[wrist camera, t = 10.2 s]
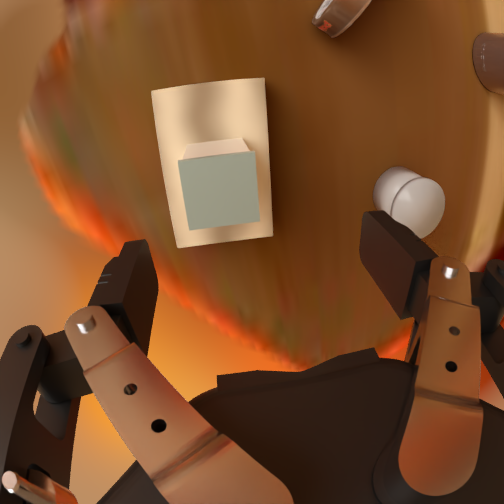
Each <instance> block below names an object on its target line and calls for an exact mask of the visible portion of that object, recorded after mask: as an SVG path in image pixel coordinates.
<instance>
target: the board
mask: <svg viewBox="0 0 504 504" xmlns="http://www.w3.org/2000/svg"><path fill="white" fill-rule="evenodd" d="M151 94H152V102H153V110H154V117H155V124H156V131H157V138H158V145H159V151H160V157H161V164H162V170H163V175H164V181H165V187H166V192H167V198H168V203H169V209H170V214H171V219H172V224H173V229H174V234H175V239H176V243H177V248H182V247H190V246H198V245H205V244H213V243H221V242H229V241H237V240H245V239H253V238H261V237H269V236H273V223H272V201H271V181H270V161H269V143H268V126H267V110H266V94H265V79H264V78H252V79H238V80H227V81H217V82H208V83H200V84H192V85H185V86H178V87H172V88H166V89H160V90H155V91H151ZM235 138H242V139H243V140H244V142H245V144H246V145H247V147H248V149H249V150H250V151H255V158H256V172H257V186H258V200H259V214H260V221H259V222H251V223H243V224H235V225H228V226H220V227H212V228H205V229H198V230H190V231H189V226H188V221H187V215H186V210H185V204H184V198H183V192H182V186H181V180H180V174H179V168H178V160H182V159H183V156H184V153H185V150H186V146H187V145H188V144H195V143H202V142H210V141H218V140H226V139H235Z"/></svg>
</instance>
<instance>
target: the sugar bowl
mask: <svg viewBox="0 0 504 504" xmlns="http://www.w3.org/2000/svg"><path fill="white" fill-rule="evenodd" d="M373 202H374V205H375V207H376V209H377V211H379V210H384V211H385V212H387V213H388V214H389V215H390V216H391V217H392V218H393V219H394V220H395V221H397V222H399V223H401V224H403V225H405V226H407V227H408V228H410V229H411V230H412V231H413V232H414V233H415V235H417V236H418V237H419V238H420V239H421V238H423V237H425V236H427V235H428V234H430V233H431V232H432V231H433V230H434V229H435V228H436V227H437V225H438V224H439V222H440V220H441V218H442V216H443V213H444V209H445V196H444V193H443V190H442V188H441V187H440V185H439V184H438V183H436V182H435V181H433V180H431V179H429V178H426V177H421V176H420V175H418V174H416V173H415V172H413V171H411V170H409V169H408V168H405V167H402V166H397V167H392V168H390V169H388V170H387V171H385V172H384V173H383V174H382V175H381V176H380V177H379V179H378V180H377V182H376V184H375V187H374V191H373Z"/></svg>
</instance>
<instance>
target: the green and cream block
mask: <svg viewBox="0 0 504 504" xmlns="http://www.w3.org/2000/svg"><path fill="white" fill-rule="evenodd" d="M178 168H179V174H180V180H181V186H182V192H183V198H184V204H185V210H186V215H187V221H188V226H189V231H190V230H198V229H205V228H212V227H220V226H228V225H235V224H243V223H251V222H259V221H260V214H259V200H258V186H257V172H256V158H255V151H250V150H249V149H248V147H247V145H246V144H245V142H244V140H243V139H242V138H235V139H226V140H218V141H210V142H202V143H195V144H188V145H187V146H186V150H185V153H184V156H183V159H182V160H178Z"/></svg>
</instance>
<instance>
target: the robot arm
mask: <svg viewBox="0 0 504 504" xmlns="http://www.w3.org/2000/svg"><path fill="white" fill-rule="evenodd" d="M473 62H474V66H475V70H476V73H477V75H478V77H479V79H480V81H481V83H482V84H483V85H484V86H485V87H486V88H487V89H488V90H490V91H492V92H495V93H499V94H503V95H504V34H503V33H482V34H480V35H479V36H478V37H477V38H476V40H475V43H474V47H473ZM359 251H360V258H361V261H362V263H363V265H364V266H365V268H366V269H367V271H368V272H369V274H370V275H371V276H372V278H373V279H374V281H375V282H376V284H377V285H378V287H379V288H380V290H381V291H382V292H383V294H384V295H385V297H386V298H387V300H388V301H389V303H390V304H391V306H392V307H393V309H394V310H395V312H396V314H397V315H398V317H399V318H400V320H401V319H405V318H409V317H414V319H415V320H414V323H413V326H412V330H411V335H410V339H409V344H408V348H407V352H406V356H405V360H404V361H401V360H396V359H389V358H379V357H378V355H377V353H376V351H375V349H374V347H373V348H369V349H365V350H361V351H357V352H352V353H348V354H344V355H339V356H337V357H334V358H332V359H330V360H328V361H326V362H323V363H321V364H319V365H317V366H314V367H312V368H310V369H307V370H305V371H301V372H282V371H259V370H256V371H248V372H241V373H233V374H225V375H217V387H216V388H213V389H211V390H208V391H207V392H204V393H202V394H200V395H198V396H197V397H195V398H193V399H192V400H191V401H189V402H187V401H186V400H185V399H184V398H183V397H182V396H181V394H180V393H179V392H178V391H176V389H175V388H174V387H173V386H172V385H171V384H170V383H169V382H168V380H167V379H166V378H165V377H164V376H163V375H162V374H161V373H160V372H159V370H158V369H157V368H156V367H155V366H154V365H153V364H152V362H151V361H150V360H149V359H148V358H147V355H148V348H149V341H150V335H151V329H152V323H153V318H154V312H155V306H156V301H157V296H158V279H157V274H156V271H155V267H154V264H153V260H152V257H151V253H150V250H149V246H148V243H147V241H146V240H145V239H143V240H136V241H129V242H125V243H124V246H123V248H122V250H121V252H120V255H119V257H114V258H113V259H112V260H111V261H110V262H109V263H107V265H105V267H104V269H103V272H102V274H101V277H100V279H99V280H98V284H97V285H96V287H95V289H94V292H93V294H92V297H91V299H90V301H89V303H88V306H87V307H84V308H82V309H79V310H78V311H76V312H75V313H73V314H72V315H71V316H70V317H69V318H68V320H67V321H66V324H65V330H63V331H60V332H57V333H54V334H51V335H48V336H45V335H44V334H43V332H42V331H41V329H40V328H39V327H38V326H35V325H29V326H25V327H23V328H21V329H19V330H18V331H16V332H15V333H14V334H13V336H11V338H10V339H9V341H8V343H7V345H6V348H5V350H4V352H3V355H2V357H1V359H0V504H78V502H77V499H76V498H75V496H74V494H73V493H72V492H71V491H70V490H69V483H70V471H71V461H72V452H73V444H74V437H75V429H76V423H77V417H78V411H79V405H80V400H81V396H84V395H88V394H91V393H94V394H95V396H96V398H97V400H98V401H99V403H100V405H101V406H102V408H103V410H104V411H105V413H106V414H107V416H108V418H109V420H110V421H111V423H112V424H113V426H114V427H115V429H116V430H117V432H118V433H119V435H120V436H121V438H122V439H123V441H124V442H125V444H126V445H127V447H128V448H129V450H130V451H131V452H132V454H133V455H134V457H135V458H136V459H137V460H136V461H135V462H134V463H133V464H132V465H131V466H130V467H129V469H128V470H127V471H126V472H125V473H124V474H123V475H122V476H121V477H120V479H119V480H118V481H117V482H116V483H115V484H114V485H113V486H112V487H111V488H110V490H109V491H108V492H107V493H106V494H105V495H104V496H103V497H102V498H101V499H100V500H99V501H98V502H97V504H504V411H503V410H501V409H499V408H497V407H495V406H493V405H491V404H489V403H487V402H485V401H483V400H481V399H479V388H480V368H481V360H482V361H483V363H484V365H485V366H486V368H487V370H488V372H489V373H490V375H491V377H492V378H493V380H494V382H495V384H496V385H497V387H498V389H499V391H500V393H501V394H502V396H503V398H504V329H503V328H502V327H501V325H500V321H501V319H502V317H503V315H504V261H502V260H498V259H493V260H490V261H488V262H487V265H486V268H485V271H484V273H481V272H469V269H468V268H467V266H466V265H465V264H464V263H462V262H461V261H459V260H457V259H455V258H452V257H447V256H440V257H439V256H438V255H437V254H436V253H435V252H434V251H433V250H432V249H431V248H430V247H428V246H427V245H426V244H425V243H424V242H423V241H421V239H420V238H419V237H418V236H417V235H415V233H414V232H413V231H412V230H411V229H410V228H408V227H407V226H405V225H403V224H401V223H399V222H397V221H395V220H394V219H393V218H392V217H391V216H390V215H389V214H388V213H387V212H385V211H384V210H379V211H369V212H365V213H364V214H363V217H362V228H361V238H360V249H359ZM37 390H38V391H39V393H40V394H41V395H40V398H39V402H38V406H37V411H36V414H35V415H34V411H33V402H34V399H35V395H36V392H37Z"/></svg>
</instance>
